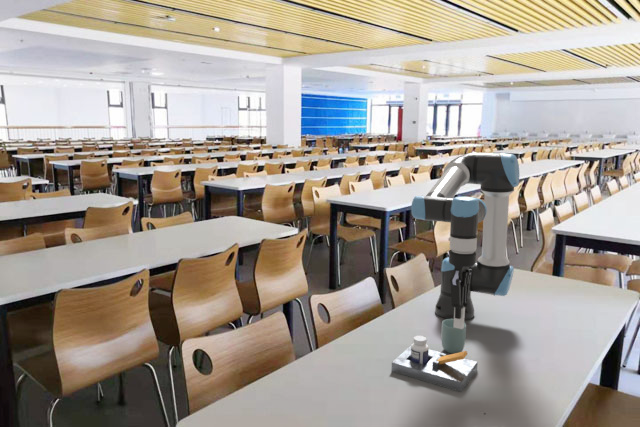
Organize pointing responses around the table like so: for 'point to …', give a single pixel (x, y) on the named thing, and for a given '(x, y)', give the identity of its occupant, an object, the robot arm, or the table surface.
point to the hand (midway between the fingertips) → (458, 327)
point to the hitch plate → (436, 370)
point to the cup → (452, 337)
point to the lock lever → (451, 357)
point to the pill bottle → (419, 350)
